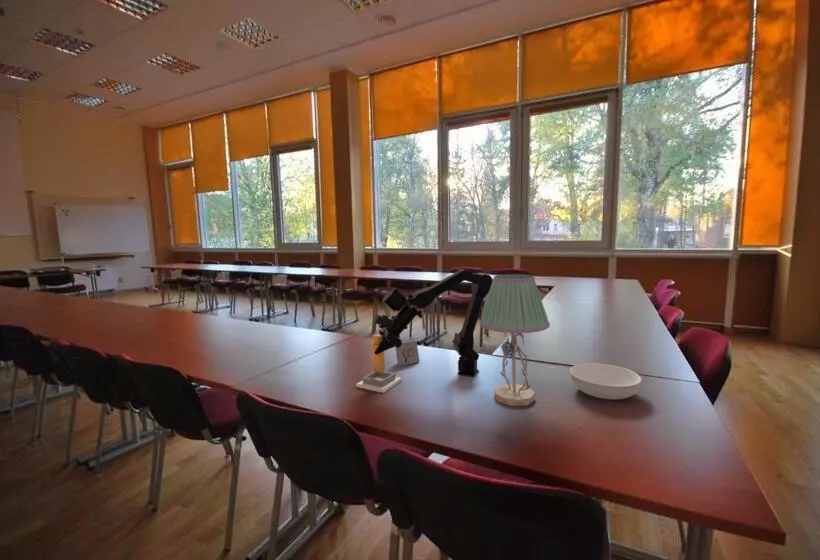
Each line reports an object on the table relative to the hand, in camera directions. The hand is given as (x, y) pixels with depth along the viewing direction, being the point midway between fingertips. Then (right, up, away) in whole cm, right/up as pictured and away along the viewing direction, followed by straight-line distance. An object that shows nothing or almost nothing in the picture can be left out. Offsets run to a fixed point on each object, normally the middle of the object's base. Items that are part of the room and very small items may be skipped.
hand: (374, 351), depth 141 cm
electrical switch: (+12, -9, +24) cm, 28 cm away
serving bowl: (+77, -11, -13) cm, 79 cm away
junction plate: (+2, -12, +2) cm, 13 cm away
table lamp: (+47, -13, -14) cm, 51 cm away
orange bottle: (+2, -7, +1) cm, 7 cm away
